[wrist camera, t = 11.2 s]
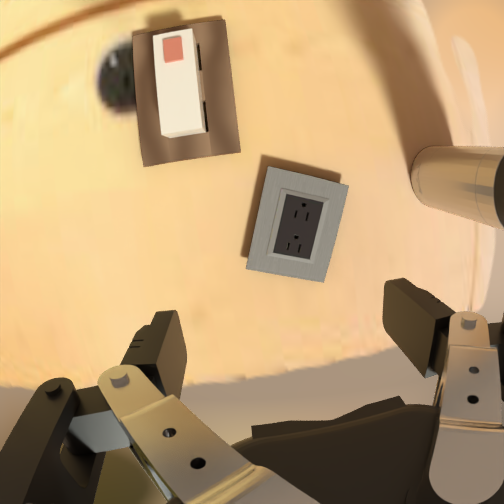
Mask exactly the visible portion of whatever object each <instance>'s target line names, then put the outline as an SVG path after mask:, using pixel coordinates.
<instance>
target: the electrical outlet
mask: <svg viewBox="0 0 504 504" xmlns="http://www.w3.org/2000/svg"><path fill="white" fill-rule="evenodd" d="M348 187H349V186H348V185H344V184H340V183H336V182H333V181H329V180H325V179H321V178H317V177H313V176H309V175H305V174H300V173H296V172H292V171H287V170H283V169H279V168H274V167H270V166H268V168H267V173H266V177H265V182H264V187H263V191H262V196H261V201H260V205H259V210H258V214H257V219H256V224H255V228H254V233H253V238H252V242H251V247H250V251H249V256H248V261H247V265H246V269H249V270H254V271H260V272H265V273H271V274H277V275H282V276H288V277H294V278H300V279H305V280H311V281H317V282H323V283H324V280H325V276H326V273H327V269H328V266H329V262H330V258H331V255H332V251H333V247H334V244H335V240H336V236H337V232H338V228H339V224H340V220H341V216H342V212H343V208H344V204H345V200H346V196H347V192H348Z"/></svg>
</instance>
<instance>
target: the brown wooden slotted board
mask: <svg viewBox="0 0 504 504" xmlns="http://www.w3.org/2000/svg"><path fill="white" fill-rule="evenodd" d="M191 28H192V30H193V34H194V37H195V40H196V45H197V47H200V55H201V65H202V70H201V71H199V74H200V84H201V93H202V102H203V103H206V112H207V121H208V129H209V132H206V133H199V134H192V135H186V136H180V137H174V138H168V137H166V136H163V135H161V126H160V117H159V107H158V97H157V86H156V74H155V61H154V46H153V36H154V35H159V34H164V33H169V32H174V31H179V30H185V29H191ZM133 59H134V76H135V91H136V103H137V114H138V124H139V134H140V143H141V151H142V159H143V167H148V166H153V165H159V164H165V163H170V162H176V161H183V160H189V159H196V158H203V157H210V156H217V155H225V154H233V153H241V149H240V141H239V132H238V124H237V115H236V107H235V98H234V90H233V81H232V73H231V64H230V56H229V48H228V39H227V31H226V22H225V20H217V21H209V22H202V23H195V24H189V25H183V26H177V27H172V28H166V29H161V30H157V31H152V32H148V33H143V34H139V35H135V36H133Z"/></svg>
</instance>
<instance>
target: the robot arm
mask: <svg viewBox="0 0 504 504" xmlns="http://www.w3.org/2000/svg"><path fill="white" fill-rule="evenodd" d="M411 181H412V187H413V190H414V192H415V194H416V196H417V198H418V199H419V200H420V201H421V202H422V203H423V204H424V205H426V206H428V207H431V208H435V209H438V210H441V211H444V212H448V213H451V214H454V215H458V216H461V217H464V218H467V219H470V220H473V221H477V222H480V223H483V224H486V225H489V226H492V227H495V228H498V229H501V230H504V147H481V146H431V147H427V148H425V149H423V150H422V151H421V152H420V153H419V154H418V155H417V157H416V158H415V160H414V163H413V165H412V170H411ZM383 325H384V328H385V331H386V332H387V333H388V335H389V336H390V337H391V338H392V339H393V341H394V342H395V343H396V344H397V345H398V346H399V348H400V349H401V350H402V351H403V352H404V354H405V355H406V356H407V357H408V358H409V360H410V361H411V362H412V363H413V365H414V366H415V367H416V368H417V369H418V371H419V372H420V373H421V374H422V376H423V377H424V378H428V377H431V376H433V375H436V374H438V375H439V376H438V380H437V384H436V389H435V395H434V400H433V404H432V406H429V405H420V404H408V405H405V403H404V402H403V400H402V399H401V397H400V396H396V397H393V398H389V399H386V400H382V401H379V402H375V403H371V404H367V405H365V406H363V407H361V408H359V409H357V410H354V411H352V412H350V413H348V414H345V415H343V416H341V417H339V418H336V419H334V420H328V421H284V422H278V423H272V424H264V425H256V426H251V427H252V437H250V438H247V439H244V440H242V441H239V442H237V443H235V444H233V445H231V446H230V445H228V444H227V443H226V442H225V441H224V440H222V439H221V438H220V437H219V436H218V435H217V434H216V433H214V432H213V431H212V430H211V429H210V428H209V427H208V426H206V425H205V424H204V423H203V422H202V421H201V420H200V419H199V418H198V417H197V416H196V415H194V414H193V413H192V412H191V411H190V410H189V409H188V408H187V407H186V406H185V405H184V404H183V403H182V402H181V401H180V395H181V389H182V384H183V379H184V374H185V368H186V363H187V351H186V345H185V341H184V337H183V333H182V329H181V324H180V320H179V316H178V313H177V311H176V310H169V311H159V312H156V313H155V316H154V318H153V320H152V322H151V324H150V325H144V326H143V327H142V328H141V329H140V330H139V331H137V332H136V334H135V336H134V338H133V340H132V342H131V344H130V346H129V348H128V350H127V352H126V354H125V356H124V358H123V360H122V362H121V364H120V365H119V366H115V367H112V368H110V369H108V370H106V371H105V372H104V373H102V374H101V376H100V377H99V379H98V385H97V386H94V387H89V388H84V389H79V390H76V389H75V387H74V384H73V382H72V381H71V380H70V379H67V378H54V379H51V380H48V381H46V382H45V383H43V384H42V385H40V386H39V387H38V389H37V390H36V392H35V393H34V395H33V397H32V398H31V400H30V401H29V403H28V405H27V406H26V408H25V409H24V411H23V413H22V415H21V416H20V418H19V420H18V421H17V423H16V425H15V427H14V428H13V430H12V432H11V434H10V435H9V437H8V439H7V441H6V443H5V444H4V446H3V448H2V450H1V452H0V504H93V503H94V498H95V493H96V490H97V486H98V482H99V477H100V474H101V470H102V466H103V462H104V458H105V454H106V451H108V450H113V449H119V448H124V447H129V448H130V450H131V452H132V453H133V454H134V456H135V457H136V459H137V460H138V461H139V463H140V465H141V466H142V467H143V469H144V470H145V471H146V473H147V474H148V476H149V477H150V479H152V481H153V483H154V484H155V485H156V487H157V488H158V490H159V491H160V492H161V493H162V495H163V496H164V498H165V499H166V501H167V502H168V503H167V504H504V426H502V411H501V409H502V408H501V399H502V400H503V401H504V314H503V318H502V322H500V323H490V324H488V323H487V320H486V319H485V318H484V317H483V316H482V315H479V314H477V313H474V312H468V311H463V312H457V313H456V312H455V311H453V310H452V309H451V308H449V307H448V306H447V305H445V304H444V303H443V302H441V301H440V300H439V299H437V298H435V296H433V295H432V294H431V293H429V292H428V291H426V290H423V289H421V288H418V287H416V286H415V285H413V284H412V283H411V282H409V281H408V280H407V279H405V278H400V279H394V280H389V281H386V282H385V285H384V300H383ZM62 442H63V444H64V446H63V448H62V451H61V454H60V448H61V445H62Z"/></svg>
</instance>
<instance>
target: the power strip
mask: <svg viewBox="0 0 504 504" xmlns="http://www.w3.org/2000/svg"><path fill="white" fill-rule="evenodd" d="M153 46H154V61H155V74H156V86H157V97H158V107H159V117H160V126H161V135H163V136H166V137H168V138H174V137H180V136H186V135H192V134H199V133H206V128H205V119H204V111H203V102H202V93H201V84H200V74H199V65H198V55H197V45H196V40H195V37H194V34H193V30H192V28H191V29H185V30H179V31H174V32H169V33H164V34H159V35H154V36H153Z"/></svg>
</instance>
